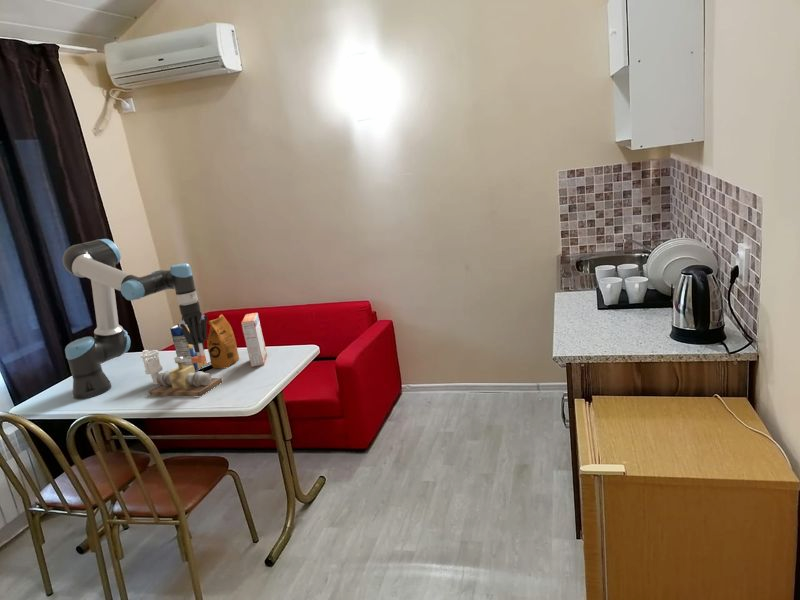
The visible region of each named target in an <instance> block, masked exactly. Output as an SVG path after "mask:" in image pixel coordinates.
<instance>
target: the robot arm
mask: <svg viewBox="0 0 800 600" xmlns="http://www.w3.org/2000/svg"><path fill="white" fill-rule="evenodd" d="M121 259H122V255H121V252H120V250H119V247H118V246H117V245H116V244H115V242H113V241H112V240H110V239H109V238H102V239H95V240H91V241H86V242H83V243H78V244H73V245H70V246H69V247H68V248H67V249H66V250H65V251H64V253H63V256H62V265H63V267H64V268H65V270H66V271H67V272H68V273H69V274H71V275H73V276H75V277H78V278H87V279H89V280H90V282H91V288H92V298H93V305H94V311H95V312H94V313H95V320H96V328H95V329H94V331H93V334H94V337H93V336H84V337H82V338H81V337H80V338H77V339H75V340H74V341H70V342H69V343H68V344H67V345H66V346H65V348H64V353H65V358H66V359H67V363H68V365H69V366H68V367H69V370H70V373H71V377H72V380H73V381H72V391H71V392H72V396H73V398H74V399H77V400H81V399H89V398H92V397H96V396H99V395H102V394H104V393H106V392H107V391H109V390H111V388H112V383H111V380H110V379H109V378H108V377H107V375H106V374H105V372H104V370H103V368H102V364H103V363H105V362H108V361H111V360H113V359H116V358H119V357H121V356H122V355H125V354H126V353H127V352H128V351H129V350H130V348H131V338H130V335H128V334H129V333H128V331H127V330H125V329H124V328H123V326H122V325H120V324H119V316H118V309H117V300H116V293H115V290H116V291H119V292H120V293H121V295H122V297H124V298H125V300H126V301H135V300H140V299H142V298H145V297H148V296H150V295H153V294H154V295H155V294H156V293H159V292H163V291H166V290H174V292H175V295H176V299H177V304H179V305H178V307H179V311H180V315H181V321H180V322H179V323H180V324H179V323H177V324H178V327H179V328H180V329H181V330H182V332H183V334H184V336H185V338H186V340H187V342H188V344H190V345H193V346H194V350H195V352H197V355H198V356H206V353H205V354H204V352H205V342H206V341H207V339H208V328H207V327H208V325H207V324H208V318H209V317H208V316H209V315H207V314H206V315H205V314H203V313H202V311H201V306H200V302H199V301H198V300H199V299H198V294H197V290H196V285H195V280H194V276H193V272H192V271H193V270H192V268H191V266H190V264H189V263H186V262H183V263H178V264H174V265H171V266H170V267H169V269H165V270H164V269H159V270H154V271H152V272H151V273H150V274H147V275H143V276H137V275H134V274H131V273H129V272H126V271H124V270H121V269H119V268H117V267H116V265H118V264H119V263H120V261H121ZM185 324H186V325H187V327H188V329H189V331H188V329H187V327H186V325H185ZM189 332H190V333H189ZM198 342H199V343H198Z"/></svg>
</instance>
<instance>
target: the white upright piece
mask: <svg viewBox="0 0 800 600" xmlns="http://www.w3.org/2000/svg"><path fill="white" fill-rule="evenodd" d="M140 358H141V359H142V361H143V365H144V368H145V370H144V373H145V374H146V375H151V380H152V383H153V385H154V384H155V385H159V384H158V383H157V376H158V374H159V373H161V372H162V371H163V370H164V368H163V366H162V365H161V362H160V358H159V350H157V349H153V350H148V349H144V350H142V353H141V354H140Z"/></svg>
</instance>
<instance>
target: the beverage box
mask: <svg viewBox="0 0 800 600" xmlns="http://www.w3.org/2000/svg"><path fill="white" fill-rule="evenodd" d="M180 323H181V322H179V323H177V324H176V325H174V326H172V327H171V328H169V329H170V334H171V338H172V342H173V346H174V349H175V354H176V357H178V356H183V357H194V356H198V355H197V352H195V350H194V346H193V345H190V344H188V342H187V340H186V338H185V336H184V334H183V332H182V330H181V329H180V328H179V327H178V324H180ZM185 325H186V324H185ZM186 327H187V325H186ZM187 329H188V327H187ZM188 331H189V329H188ZM189 333H190V332H189ZM198 343H199V342H198ZM204 354H205V357H206V358H207V356H206V353H205V351H204ZM206 364H207V365H208V361H207V360H206V361H205V362H203V363H192V362H182V365H183V366H194V369H195V373H196V372H197V371H198V370H199V369H200V368H201V367H202V366H204V365H206Z"/></svg>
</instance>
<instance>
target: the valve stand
mask: <svg viewBox="0 0 800 600" xmlns="http://www.w3.org/2000/svg"><path fill="white" fill-rule="evenodd" d="M158 373H159V374H158V376H157V383H158V384H157V386H155V387H154V388H152V389H150V390H149V391H148V394H149V397H179V396H201V397H202V395H203V394H204V395H206V394H207V393H209V392H210V391H212V390H214V389H215V388H217V387H218V386H219V384H220V383H221V384H223V383H222V382H223V379H222V377H212V374H210V373H209V372H204V371H203V370H202V371H197V372H196V373H195V369H194V366H183V365H182V362H181V363H177V367H176V368H174V369H172V370H169V371H168V370H167V371H165V372H158ZM221 384H220V385H221ZM217 385H218V386H217ZM216 386H217V387H216ZM214 387H215V388H214ZM213 388H214V389H213ZM211 389H212V390H211ZM208 391H209V392H208ZM206 392H207V393H206ZM205 393H206V394H205ZM204 395H203V396H204Z"/></svg>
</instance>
